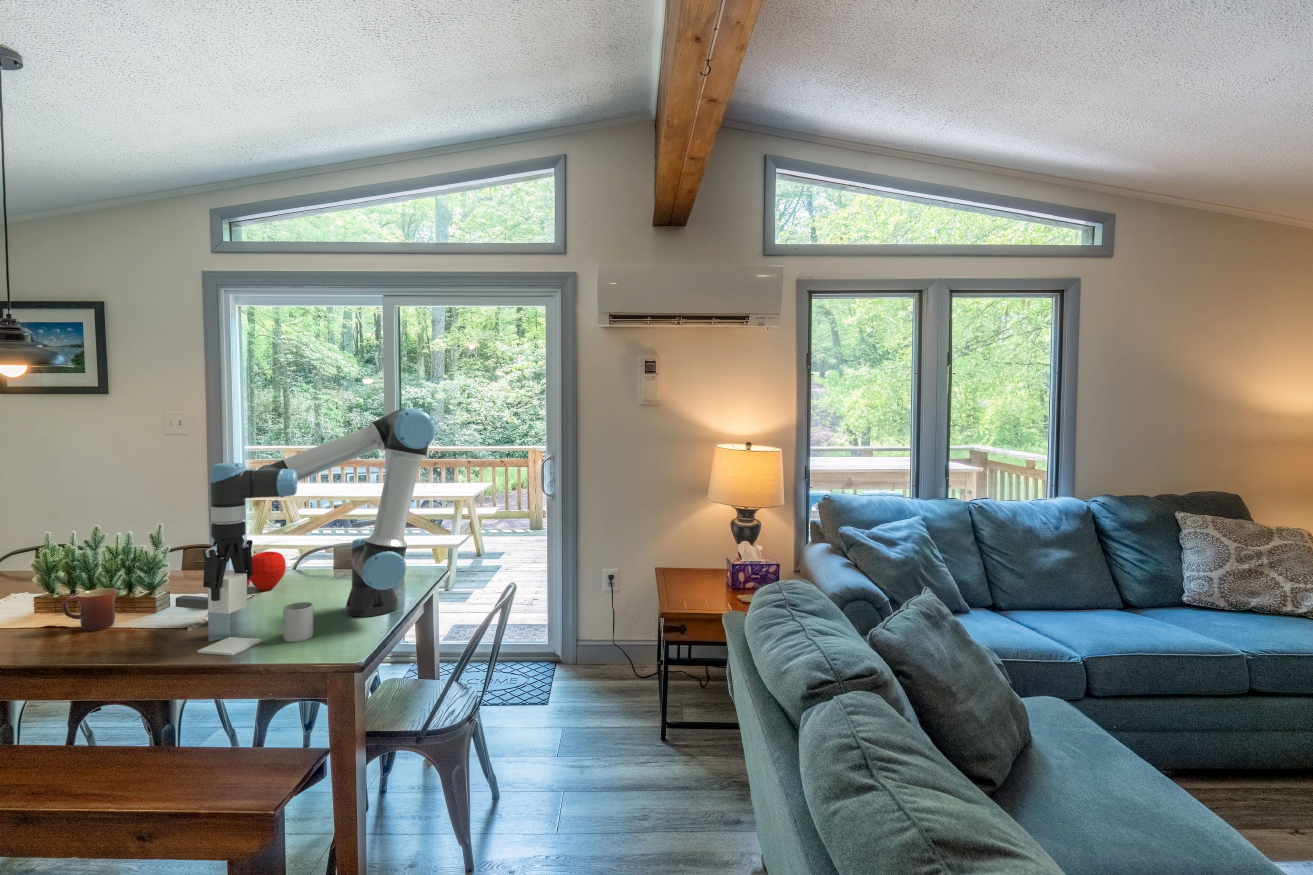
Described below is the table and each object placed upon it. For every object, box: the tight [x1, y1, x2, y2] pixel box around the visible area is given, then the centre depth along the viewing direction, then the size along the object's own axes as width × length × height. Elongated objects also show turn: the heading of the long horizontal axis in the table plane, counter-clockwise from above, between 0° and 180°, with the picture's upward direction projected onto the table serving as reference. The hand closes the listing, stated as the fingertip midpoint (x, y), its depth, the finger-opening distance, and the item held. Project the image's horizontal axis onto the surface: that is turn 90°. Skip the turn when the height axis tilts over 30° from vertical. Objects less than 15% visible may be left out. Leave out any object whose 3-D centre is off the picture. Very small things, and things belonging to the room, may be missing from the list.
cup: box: [282, 601, 314, 643], centre depth 175 cm, size 7×10×9 cm
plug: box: [175, 571, 248, 614], centre depth 167 cm, size 18×6×9 cm, turn 82°
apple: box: [246, 550, 287, 592], centre depth 220 cm, size 12×12×13 cm
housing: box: [207, 611, 232, 642], centre depth 180 cm, size 5×20×13 cm, turn 35°
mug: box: [61, 587, 119, 632], centre depth 179 cm, size 12×9×10 cm
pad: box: [197, 636, 263, 656], centre depth 167 cm, size 10×10×1 cm
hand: (229, 608), depth 166 cm, fingers closed on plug, 6 cm apart
